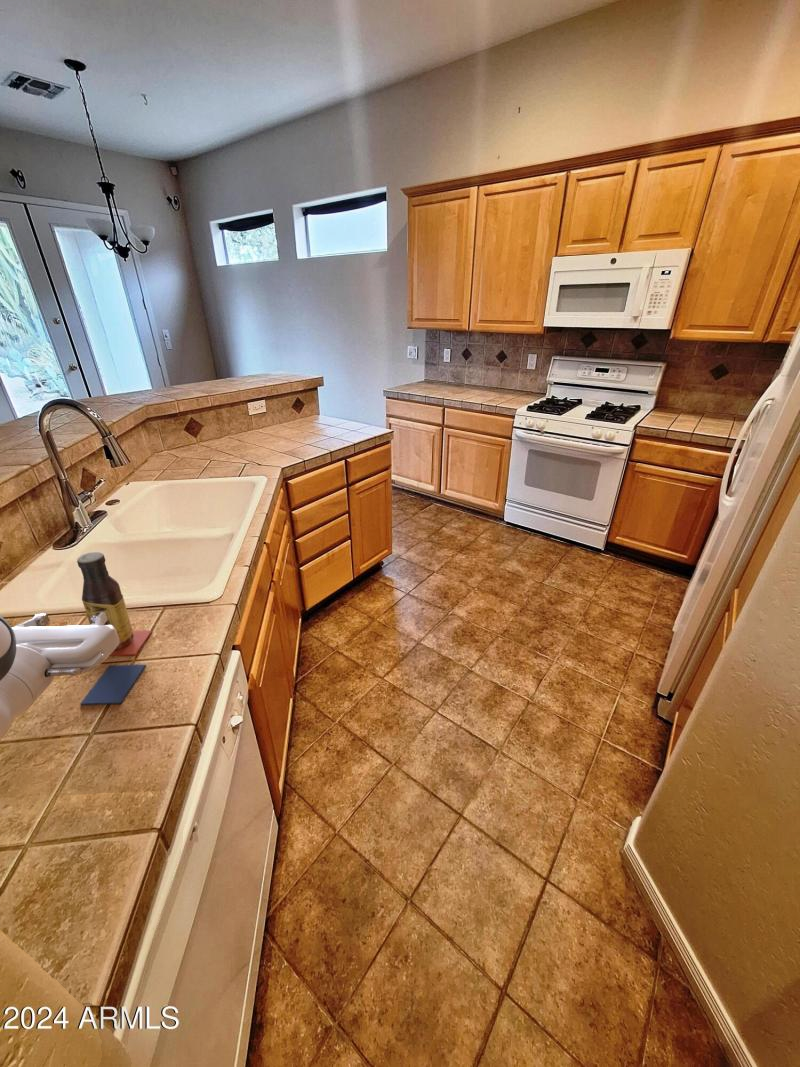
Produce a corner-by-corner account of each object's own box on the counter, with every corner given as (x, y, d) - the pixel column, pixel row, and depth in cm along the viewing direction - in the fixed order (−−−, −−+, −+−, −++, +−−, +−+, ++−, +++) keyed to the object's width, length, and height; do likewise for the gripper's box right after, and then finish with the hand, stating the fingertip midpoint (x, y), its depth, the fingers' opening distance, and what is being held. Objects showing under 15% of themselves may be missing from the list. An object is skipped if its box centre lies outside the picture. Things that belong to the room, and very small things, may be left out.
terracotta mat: (81, 657, 82) (81, 655, 82) (102, 632, 89) (102, 631, 89) (135, 655, 83) (135, 654, 83) (152, 631, 89) (152, 630, 89)
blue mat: (80, 705, 72) (80, 703, 72) (109, 667, 80) (109, 665, 80) (121, 704, 73) (120, 702, 72) (146, 665, 81) (145, 664, 80)
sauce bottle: (91, 648, 84) (57, 560, 75) (119, 629, 89) (91, 545, 80) (115, 657, 82) (83, 568, 73) (143, 637, 87) (116, 551, 78)
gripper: (82, 656, 60) (131, 599, 72) (-74, 661, 59) (3, 602, 71) (96, 690, 63) (141, 629, 75) (-53, 695, 61) (18, 632, 74)
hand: (73, 616), depth 73 cm, fingers open, 8 cm apart
